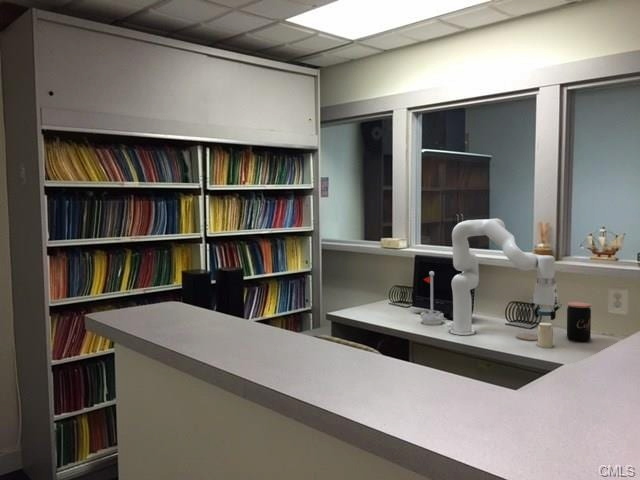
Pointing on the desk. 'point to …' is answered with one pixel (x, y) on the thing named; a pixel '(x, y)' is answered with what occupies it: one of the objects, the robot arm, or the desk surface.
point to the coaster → (528, 337)
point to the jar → (545, 335)
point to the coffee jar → (579, 321)
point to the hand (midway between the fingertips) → (544, 318)
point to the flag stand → (431, 317)
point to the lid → (544, 312)
